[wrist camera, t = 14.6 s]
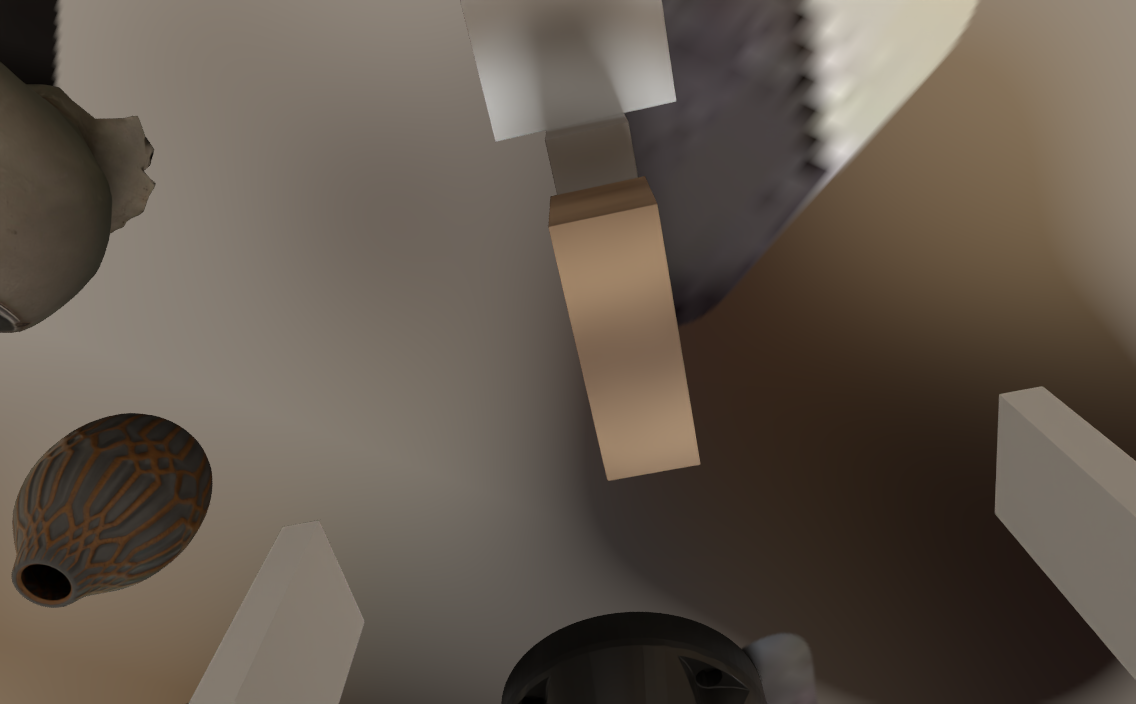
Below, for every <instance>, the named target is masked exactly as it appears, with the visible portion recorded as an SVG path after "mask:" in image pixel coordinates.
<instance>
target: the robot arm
mask: <svg viewBox="0 0 1136 704" xmlns="http://www.w3.org/2000/svg"><path fill="white" fill-rule="evenodd" d="M995 514H996V515H997V516H998V518H999V519H1000V520H1001V521H1002V523H1003V524H1004V525H1005V526H1006V527H1007V528H1008V530H1009V531H1010V532H1011V533H1012V534H1013V536H1014V537H1015V538H1016V539H1017V540H1018V541H1019V543H1020V544H1021V545H1022V546H1023V547H1024V549H1025V550H1026V551H1027V552H1028V553H1029V554H1030V556H1031V557H1032V558H1033V559H1034V560H1035V562H1036V563H1037V564H1038V565H1039V566H1040V567H1041V569H1042V570H1043V571H1044V572H1045V573H1046V575H1047V576H1048V577H1049V578H1050V579H1051V581H1052V582H1053V583H1054V584H1055V585H1056V586H1057V588H1058V589H1059V590H1060V591H1061V592H1062V593H1063V595H1064V596H1065V597H1066V598H1067V599H1068V601H1069V602H1070V603H1071V604H1072V605H1073V607H1074V608H1075V609H1076V610H1077V611H1078V612H1079V614H1080V615H1081V616H1082V617H1083V618H1084V620H1085V621H1086V622H1087V623H1088V624H1089V625H1090V627H1091V628H1092V629H1093V630H1094V631H1095V633H1096V634H1097V635H1098V636H1099V637H1100V638H1101V640H1102V641H1103V642H1104V643H1105V644H1106V645H1107V647H1108V648H1109V649H1110V650H1111V652H1112V653H1113V654H1114V655H1115V656H1116V657H1117V658H1118V660H1119V661H1120V662H1121V663H1122V665H1123V666H1124V667H1125V668H1126V669H1127V670H1128V672H1129V673H1130V674H1131V675H1132V676H1133V678H1134V679H1135V680H1136V461H1135V460H1133V459H1132V458H1131V457H1129V455H1127V454H1126V453H1125V452H1123V451H1122V450H1121V449H1120V448H1119V447H1117V446H1116V445H1115V444H1114V443H1112V442H1111V441H1110V440H1109V439H1107V438H1106V437H1105V436H1104V435H1102V434H1101V433H1100V432H1099V431H1097V430H1096V429H1095V428H1094V427H1092V426H1091V425H1090V424H1089V423H1087V422H1086V421H1085V420H1083V419H1082V418H1081V417H1080V416H1079V415H1077V414H1076V413H1075V412H1074V411H1072V410H1071V409H1070V408H1069V407H1067V406H1066V405H1065V404H1064V403H1063V402H1061V401H1060V400H1059V399H1058V398H1056V397H1055V396H1054V395H1052V394H1051V393H1050V392H1049V391H1048V390H1046V389H1045V388H1044V387H1037V388H1031V389H1026V390H1020V391H1015V392H1010V393H1004V394H1000V395H999V416H998V445H997V472H996V498H995ZM363 625H364V619H363V617H362V615H361V613H360V610H359V608H358V606H357V604H356V601H355V599H354V597H353V595H352V593H351V590H350V588H349V586H348V584H347V581H346V579H345V577H344V575H343V572H342V570H341V568H340V566H339V563H338V561H337V559H336V557H335V554H334V552H333V550H332V548H331V545H330V543H329V541H328V539H327V536H326V534H325V532H324V530H323V527H322V525H321V523H320V521H319V520H317V521H311V522H305V523H300V524H295V525H290V526H284V527H282V529H281V531H280V533H279V534H278V536H277V538H276V540H275V542H274V544H273V546H272V548H271V550H270V551H269V553H268V555H267V557H266V559H265V561H264V563H263V565H262V566H261V568H260V571H259V572H258V574H257V576H256V578H255V580H254V582H253V584H252V585H251V587H250V589H249V591H248V593H247V595H246V597H245V599H244V600H243V602H242V604H241V606H240V608H239V610H238V612H237V613H236V616H235V617H234V619H233V621H232V623H231V625H230V627H229V629H228V630H227V632H226V634H225V636H224V638H223V640H222V642H221V644H220V645H219V647H218V649H217V651H216V653H215V655H214V657H213V659H212V661H211V662H210V664H209V666H208V668H207V670H206V672H205V674H204V676H203V677H202V679H201V682H200V683H199V685H198V687H197V689H196V691H195V693H194V694H193V696H192V698H191V700H190V702H189V703H188V704H339V700H340V697H341V694H342V691H343V688H344V685H345V682H346V679H347V675H348V672H349V669H350V666H351V663H352V660H353V656H354V653H355V650H356V647H357V644H358V641H359V638H360V635H361V631H362V628H363ZM502 704H767V702H766V698H765V695H764V691H763V688H762V684H761V681H760V678H759V675H758V673H757V670H756V668H755V667H754V665H753V663H752V662H751V660H750V659H749V658H748V656H747V655H746V654H745V653H744V652H743V651H742V650H741V649H740V648H739V647H738V646H737V645H736V644H735V643H734V642H733V641H731V640H730V639H729V638H727V637H726V636H724V635H723V634H721V633H719V632H718V631H716V630H714V629H712V628H710V627H708V626H706V625H703V624H701V623H698V622H696V621H693V620H690V619H686V618H683V617H679V616H674V615H669V614H662V613H651V612H625V613H614V614H607V615H602V616H597V617H593V618H589V619H586V620H582V621H580V622H576V623H574V624H571V625H569V626H567V627H564V628H562V629H560V630H558V631H556V632H554V633H552V634H550V635H549V636H547V637H546V638H544V639H543V640H541V641H540V642H539V643H537V644H536V645H535V646H533V647H532V648H531V649H530V650H529V651H528V652H527V653H526V654H525V655H524V656H523V657H522V658H521V659H520V661H519V662H518V663H517V664H516V666H515V667H514V669H513V670H512V672H511V674H510V675H509V678H508V680H507V682H506V685H505V687H504V691H503V695H502Z"/></svg>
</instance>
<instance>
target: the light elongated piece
mask: <svg viewBox="0 0 1136 704" xmlns="http://www.w3.org/2000/svg"><path fill="white" fill-rule="evenodd" d="M460 2H461V6H462V10H463V14H464V18H465V22H466V25H467V30H468V34H469V37H470V42H471V46H472V50H473V53H474V57H475V62H476V65H477V70H478V74H479V77H480V81H481V85H482V89H483V93H484V97H485V101H486V105H487V109H488V113H489V117H490V121H491V125H492V129H493V133H494V137H495V141H500V140H505V139H509V138H514V137H518V136H523V135H527V134H532V133H536V132H540V131H545V130H546V137H545V142H546V147H547V151H548V156H549V160H550V165H551V169H552V174H553V178H554V183H555V187H556V192H557V195H555V196H551V199H550V213H549V231H550V236H551V240H552V244H553V248H554V253H555V257H556V261H557V266H558V270H559V274H560V279H561V283H562V287H563V292H564V296H565V300H566V304H567V309H568V313H569V317H570V322H571V326H572V330H573V334H574V338H575V343H576V347H577V351H578V356H579V360H580V365H581V369H582V373H583V377H584V382H585V386H586V390H587V395H588V399H589V403H590V407H591V411H592V416H593V420H594V425H595V429H596V433H597V437H598V442H599V446H600V450H601V454H602V459H603V463H604V467H605V472H606V476H607V480H608V481H611V480H616V479H622V478H627V477H632V476H639V475H644V474H650V473H655V472H661V471H666V470H671V469H678V468H683V467H689V466H694V465H699V464H700V459H699V453H698V448H697V441H696V435H695V429H694V423H693V417H692V411H691V405H690V399H689V393H688V387H687V381H686V375H685V369H684V363H683V357H682V351H681V345H680V339H679V333H678V326H677V320H676V314H675V308H674V302H673V296H672V290H671V284H670V278H669V272H668V266H667V260H666V254H665V248H664V242H663V236H662V230H661V224H660V218H659V212H658V206H657V202H656V200H655V198H654V196H653V193H652V191H651V189H650V187H649V184H648V182H647V180H646V178H645V176H643V177H639V178H638V175H637V169H636V163H635V157H634V152H633V146H632V140H631V135H630V129H629V123H628V120H627V118H626V116H625V114H624V113H626V112H630V111H635V110H639V109H644V108H648V107H653V106H657V105H662V104H666V103H671V102H675V101H676V97H675V90H674V83H673V76H672V69H671V62H670V55H669V49H668V42H667V35H666V28H665V21H664V14H663V7H662V0H460Z"/></svg>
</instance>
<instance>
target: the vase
mask: <svg viewBox="0 0 1136 704" xmlns="http://www.w3.org/2000/svg"><path fill="white" fill-rule="evenodd" d="M211 494H212V471H211V467H210V464H209V461H208V459H207V456H206V454H205V452H204V450H203V448H202V447H201V446H200V444H199V443H198V442H197V440H196V439H195V438H194V437H192V435H191V434H189V433H188V432H187V431H186V430H184V429H183V428H181V427H180V426H178V425H177V424H175V423H173V422H171V421H169V420H166V419H164V418H160V417H157V416H153V415H146V414H135V413H128V414H119V415H114V416H109V417H105V418H102V419H99V420H96V421H93V422H90V423H88V424H86V425H84V426H82V427H80V428H78V429H76V430H74V431H73V432H71V433H69V434H68V435H67V436H65V437H64V438H62V439H61V440H60V441H58V442H57V443H56V444H55V445H53V446H52V447H51V448H50V449H49V450H48V451H47V452H46V453H45V454H44V455H43V456H42V457H41V458H40V459H39V460H38V462H37V463H36V464H35V465H34V467H33V468H32V469H31V471H30V472H29V474H28V476H27V477H26V479H25V481H24V483H23V485H22V487H21V489H20V491H19V494H18V496H17V499H16V502H15V506H14V510H13V521H12V524H13V535H14V543H15V550H16V560H15V563H14V567H13V570H12V582H13V584H14V586H15V588H16V590H17V591H18V592H19V593H20V594H21V595H22V596H23V597H25V598H26V599H27V600H29V601H31V602H33V603H35V604H38V605H40V606H45V607H51V608H57V607H64V606H67V605H69V604H71V603H73V602H75V601H77V600H79V599H81V598H83V597H86V596H90V595H96V594H101V593H107V592H111V591H116V590H120V589H124V588H127V587H130V586H133V585H135V584H138V583H140V582H142V581H144V580H146V579H147V578H149V577H151V576H152V575H154V574H156V573H157V572H159V571H160V570H161V569H163V568H164V567H166V566H167V565H168V564H169V563H171V562H172V561H173V560H174V559H175V558H176V557H177V556H178V555H179V554H180V553H181V552H182V551H183V550H184V549H185V548H186V547H187V545H188V544H189V543H190V542H191V540H192V539H193V537H194V536H195V534H196V533H197V531H198V529H199V528H200V526H201V524H202V522H203V520H204V518H205V516H206V513H207V510H208V507H209V503H210V499H211Z"/></svg>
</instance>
